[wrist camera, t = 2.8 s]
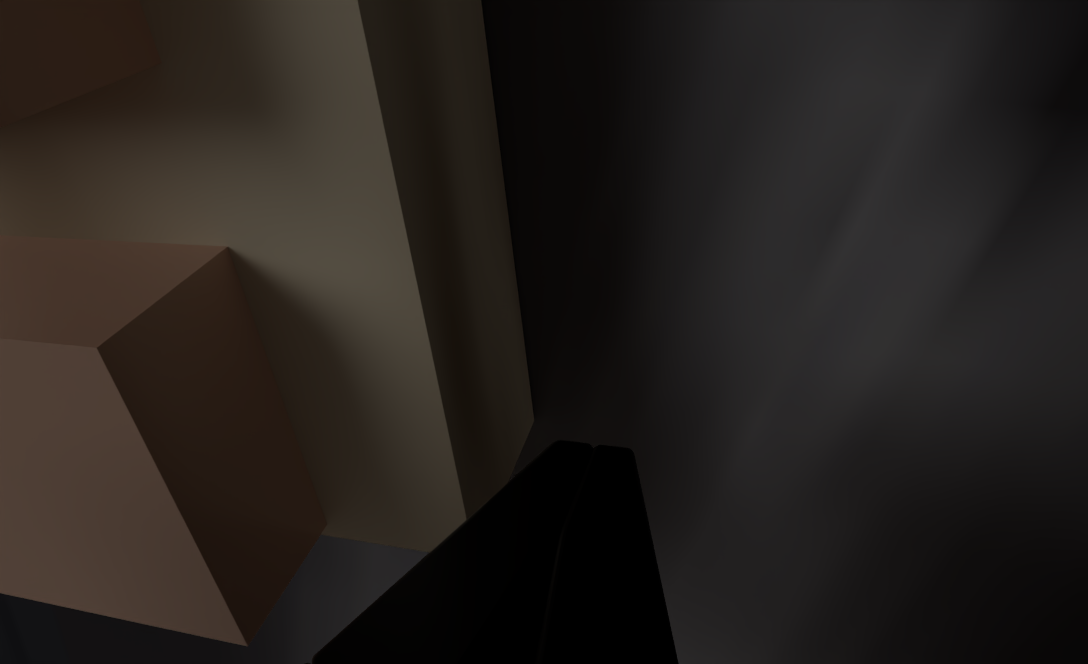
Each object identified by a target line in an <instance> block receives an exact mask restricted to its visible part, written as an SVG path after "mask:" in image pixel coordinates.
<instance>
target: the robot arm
mask: <svg viewBox="0 0 1088 664" xmlns="http://www.w3.org/2000/svg"><path fill="white" fill-rule="evenodd" d="M305 664H310V663H305ZM312 664H678V659H677V654H676V650H675V645H674V640H673V635H672V631H671V626H670V621H669V616H668V612H667V607H666V602H665V597H664V593H663V588H662V583H661V579H660V574H659V569H658V564H657V560H656V555H655V550H654V545H653V541H652V536H651V531H650V527H649V522H648V517H647V512H646V508H645V503H644V498H643V493H642V489H641V484H640V479H639V474H638V470H637V465H636V460H635V456H634V453H633V451H632V450H631V449H629V448H623V447H615V446H606V445H598V446H596V447H595V448H593V447H592V446H591V445H590V444H588V443H580V442H571V441H563V440H560V441H556V442H554V443H552V444H551V445H550V446H549V447H547V448H546V449H545V450H544V451H543V452H542V453H541V454H540V455H539V456H537V457H536V458H535V459H534V460H533V461H532V462H531V463H530V464H528V465H527V466H526V467H525V468H524V469H523V470H522V471H521V472H519V473H518V474H517V475H516V476H515V477H514V478H513V479H512V480H510V481H509V482H508V483H507V484H506V485H505V486H504V487H503V488H502V489H500V490H499V491H498V492H497V493H496V494H495V495H494V496H493V497H491V498H490V499H489V500H488V501H487V502H486V503H485V504H484V505H482V506H481V507H480V508H479V509H478V510H477V511H476V512H475V513H473V514H472V515H471V516H470V517H469V518H468V519H467V520H466V521H465V522H463V523H462V524H461V525H460V526H459V527H458V528H457V529H456V530H454V531H453V532H452V533H451V534H450V535H449V536H448V537H447V538H445V539H444V540H443V541H442V542H441V543H440V544H439V545H438V546H436V547H435V548H434V549H433V550H432V551H431V552H430V553H429V554H428V555H426V556H425V557H424V558H423V559H422V560H421V561H420V562H419V563H417V564H416V565H415V566H414V567H413V568H412V569H411V570H410V571H408V572H407V573H406V574H405V575H404V576H403V577H402V578H401V579H399V580H398V581H397V582H396V583H395V584H394V585H393V586H392V587H391V588H389V589H388V590H387V591H386V592H385V593H384V594H383V595H382V596H380V597H379V598H378V599H377V600H376V601H375V602H374V603H373V604H371V605H370V606H369V607H368V608H367V609H366V610H365V611H364V612H362V613H361V614H360V615H359V616H358V617H357V618H356V619H355V620H354V621H352V622H351V623H350V624H349V625H348V626H347V627H346V628H345V629H343V630H342V631H341V632H340V633H339V634H338V635H337V636H336V637H334V638H333V639H332V640H331V641H330V642H329V643H328V644H327V645H325V646H324V647H323V648H322V649H321V650H320V651H319V652H318V653H317V654H315V655H314V656H313V658H312Z"/></svg>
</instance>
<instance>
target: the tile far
mask: <svg viewBox="0 0 1088 664" xmlns="http://www.w3.org/2000/svg"><path fill="white" fill-rule="evenodd" d="M326 526H327V523H326V520H325V517H324V514H323V511H322V509H321V506H320V503H319V500H318V497H317V495H316V492H315V489H314V486H313V483H312V481H311V478H310V475H309V472H308V470H307V467H306V464H305V461H304V458H303V456H302V453H301V450H300V447H299V444H298V442H297V439H296V436H295V433H294V430H293V428H292V425H291V422H290V419H289V417H288V414H287V411H286V408H285V405H284V403H283V400H282V397H281V394H280V391H279V389H278V386H277V383H276V380H275V377H274V375H273V372H272V369H271V366H270V363H269V361H268V358H267V355H266V352H265V350H264V347H263V344H262V341H261V338H260V336H259V333H258V330H257V327H256V324H255V322H254V319H253V316H252V313H251V310H250V308H249V305H248V302H247V299H246V297H245V294H244V291H243V288H242V285H241V283H240V280H239V277H238V274H237V271H236V269H235V266H234V263H233V260H232V257H231V255H230V252H229V249H228V247H227V246H207V245H187V244H167V243H147V242H126V241H106V240H86V239H66V238H46V237H26V236H6V235H0V593H3V594H8V595H12V596H17V597H21V598H26V599H31V600H35V601H40V602H45V603H49V604H54V605H59V606H63V607H68V608H72V609H77V610H82V611H86V612H91V613H96V614H100V615H105V616H110V617H114V618H119V619H123V620H128V621H133V622H137V623H142V624H147V625H151V626H156V627H161V628H165V629H170V630H174V631H179V632H184V633H188V634H193V635H198V636H202V637H207V638H212V639H216V640H221V641H225V642H230V643H235V644H239V645H244V646H248V645H249V644H250V642H251V641H252V639H253V638H254V636H255V635H256V633H257V631H258V630H259V628H260V627H261V625H262V624H263V622H264V621H265V619H266V618H267V616H268V615H269V613H270V612H271V610H272V608H273V607H274V605H275V604H276V602H277V601H278V599H279V598H280V596H281V595H282V593H283V592H284V590H285V589H286V587H287V585H288V584H289V582H290V581H291V579H292V578H293V576H294V575H295V573H296V572H297V570H298V569H299V567H300V566H301V564H302V562H303V561H304V559H305V558H306V556H307V555H308V553H309V552H310V550H311V549H312V547H313V546H314V544H315V542H316V541H317V539H318V538H319V536H320V535H321V533H322V532H323V530H324V529H325V527H326Z"/></svg>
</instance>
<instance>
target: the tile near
mask: <svg viewBox="0 0 1088 664" xmlns="http://www.w3.org/2000/svg"><path fill="white" fill-rule="evenodd" d="M160 63H162V62H161V59H160V57H159V54H158V51H157V48H156V45H155V43H154V40H153V37H152V34H151V31H150V29H149V26H148V23H147V20H146V18H145V15H144V12H143V9H142V6H141V4H140V1H139V0H0V128H1V127H4V126H6V125H9V124H11V123H14V122H16V121H19V120H21V119H24V118H26V117H29V116H31V115H34V114H36V113H38V112H41V111H43V110H46V109H48V108H51V107H53V106H56V105H58V104H61V103H63V102H66V101H68V100H71V99H73V98H76V97H78V96H81V95H83V94H86V93H88V92H91V91H93V90H96V89H98V88H101V87H103V86H106V85H108V84H111V83H113V82H116V81H118V80H121V79H123V78H126V77H128V76H131V75H133V74H136V73H138V72H141V71H143V70H145V69H148V68H150V67H153V66H155V65H158V64H160Z"/></svg>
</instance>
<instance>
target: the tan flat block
mask: <svg viewBox="0 0 1088 664" xmlns="http://www.w3.org/2000/svg"><path fill="white" fill-rule="evenodd" d="M139 1H140V4H141V6H142V9H143V12H144V15H145V18H146V20H147V23H148V26H149V29H150V31H151V34H152V37H153V40H154V43H155V45H156V48H157V51H158V54H159V57H160V59H161V62H162V63H160V64H158V65H155V66H153V67H150V68H148V69H145V70H143V71H141V72H138V73H136V74H133V75H131V76H128V77H126V78H123V79H121V80H118V81H116V82H113V83H111V84H108V85H106V86H103V87H101V88H98V89H96V90H93V91H91V92H88V93H86V94H83V95H81V96H78V97H76V98H73V99H71V100H68V101H66V102H63V103H61V104H58V105H56V106H53V107H51V108H48V109H46V110H43V111H41V112H38V113H36V114H34V115H31V116H29V117H26V118H24V119H21V120H19V121H16V122H14V123H11V124H9V125H6V126H4V127H1V128H0V235H6V236H26V237H46V238H66V239H86V240H106V241H126V242H147V243H167V244H187V245H207V246H227V247H228V249H229V252H230V255H231V257H232V260H233V263H234V266H235V269H236V271H237V274H238V277H239V280H240V283H241V285H242V288H243V291H244V294H245V297H246V299H247V302H248V305H249V308H250V310H251V313H252V316H253V319H254V322H255V324H256V327H257V330H258V333H259V336H260V338H261V341H262V344H263V347H264V350H265V352H266V355H267V358H268V361H269V363H270V366H271V369H272V372H273V375H274V377H275V380H276V383H277V386H278V389H279V391H280V394H281V397H282V400H283V403H284V405H285V408H286V411H287V414H288V417H289V419H290V422H291V425H292V428H293V430H294V433H295V436H296V439H297V442H298V444H299V447H300V450H301V453H302V456H303V458H304V461H305V464H306V467H307V470H308V472H309V475H310V478H311V481H312V483H313V486H314V489H315V492H316V495H317V497H318V500H319V503H320V506H321V509H322V511H323V514H324V517H325V520H326V523H327V526H326V527H325V529H324V530H323V532H322V533H321V535H326V536H333V537H339V538H345V539H351V540H357V541H363V542H369V543H375V544H381V545H387V546H393V547H400V548H406V549H412V550H418V551H424V552H431V551H432V550H433V549H434V548H435V547H436V546H438V545H439V544H440V543H441V542H442V541H443V540H444V539H445V538H447V537H448V536H449V535H450V534H451V533H452V532H453V531H454V530H456V529H457V528H458V527H459V526H460V525H461V524H462V523H463V522H465V521H466V520H467V519H468V518H469V517H470V516H471V515H472V514H473V513H475V512H476V511H477V510H478V509H479V508H480V507H481V506H482V505H484V504H485V503H486V502H487V501H488V500H489V499H490V498H491V497H493V496H494V495H495V494H496V493H497V492H498V491H499V490H500V489H502V488H503V487H504V486H505V485H506V484H507V483H508V481H509V479H510V477H511V474H512V472H513V470H514V467H515V465H516V463H517V460H518V458H519V455H520V453H521V451H522V448H523V446H524V444H525V441H526V439H527V437H528V434H529V432H530V429H531V427H532V425H533V422H534V414H533V406H532V398H531V390H530V383H529V375H528V367H527V359H526V351H525V343H524V335H523V327H522V319H521V311H520V304H519V296H518V288H517V280H516V272H515V264H514V256H513V248H512V240H511V232H510V225H509V217H508V209H507V201H506V193H505V185H504V177H503V169H502V161H501V153H500V146H499V138H498V130H497V122H496V114H495V106H494V98H493V90H492V82H491V74H490V67H489V59H488V51H487V43H486V35H485V27H484V19H483V11H482V3H481V0H139Z"/></svg>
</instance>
